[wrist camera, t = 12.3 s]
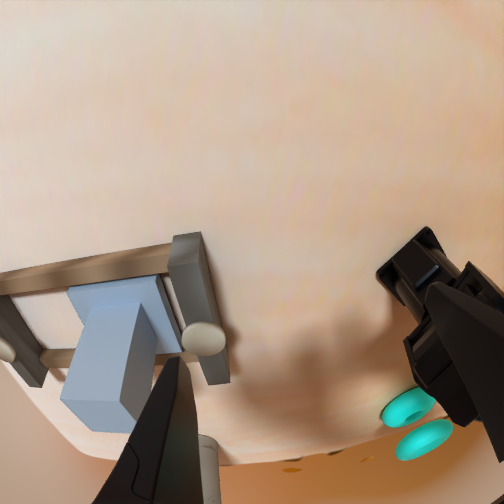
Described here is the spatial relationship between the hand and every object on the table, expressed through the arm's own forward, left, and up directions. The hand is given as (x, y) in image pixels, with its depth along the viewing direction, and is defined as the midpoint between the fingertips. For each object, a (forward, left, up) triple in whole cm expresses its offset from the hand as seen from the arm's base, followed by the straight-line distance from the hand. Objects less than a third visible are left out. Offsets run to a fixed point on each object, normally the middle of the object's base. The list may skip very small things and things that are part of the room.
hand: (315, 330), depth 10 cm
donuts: (-43, +8, -13) cm, 46 cm away
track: (+3, +18, -13) cm, 23 cm away
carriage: (+1, +15, -13) cm, 20 cm away
